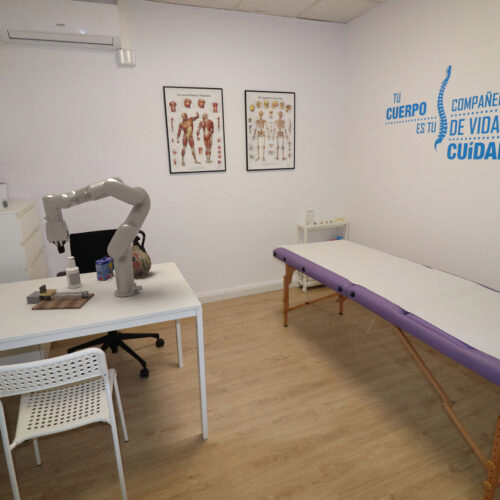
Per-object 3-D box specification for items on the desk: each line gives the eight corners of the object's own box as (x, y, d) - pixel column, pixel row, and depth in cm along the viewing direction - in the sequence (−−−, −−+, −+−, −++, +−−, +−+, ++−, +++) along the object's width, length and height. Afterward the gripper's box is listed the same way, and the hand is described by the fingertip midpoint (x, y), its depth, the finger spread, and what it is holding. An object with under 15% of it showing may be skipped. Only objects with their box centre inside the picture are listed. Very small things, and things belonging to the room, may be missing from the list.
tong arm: (90, 296, 192) (89, 291, 191) (86, 299, 188) (85, 293, 187) (48, 297, 192) (47, 291, 191) (43, 300, 188) (42, 294, 187)
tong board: (94, 295, 196) (94, 293, 196) (79, 308, 179) (79, 306, 179) (50, 296, 196) (50, 294, 196) (31, 309, 179) (31, 308, 178)
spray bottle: (76, 289, 206) (71, 259, 201) (65, 288, 207) (61, 258, 202) (83, 285, 212) (79, 255, 207) (73, 284, 213) (69, 255, 209)
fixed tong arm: (83, 295, 193) (83, 291, 192) (81, 297, 190) (81, 293, 190) (48, 296, 192) (48, 292, 192) (46, 298, 190) (45, 293, 190)
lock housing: (48, 297, 194) (46, 291, 193) (39, 303, 186) (38, 296, 185) (36, 297, 194) (34, 291, 193) (27, 303, 186) (26, 296, 185)
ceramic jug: (123, 280, 219) (117, 232, 212) (132, 272, 234) (127, 227, 226) (150, 279, 219) (145, 232, 211) (157, 271, 233) (153, 226, 226)
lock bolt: (56, 291, 192) (55, 283, 191) (50, 295, 186) (49, 287, 185) (45, 291, 192) (44, 284, 191) (39, 295, 186) (38, 288, 185)
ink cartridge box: (104, 281, 218) (101, 258, 214) (96, 280, 219) (93, 257, 216) (114, 276, 227) (112, 254, 223) (107, 275, 229) (104, 253, 225)
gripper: (36, 221, 180) (44, 255, 185) (65, 219, 180) (73, 253, 185) (44, 218, 188) (51, 252, 192) (72, 216, 188) (79, 250, 192)
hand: (62, 252), depth 189 cm, fingers closed
